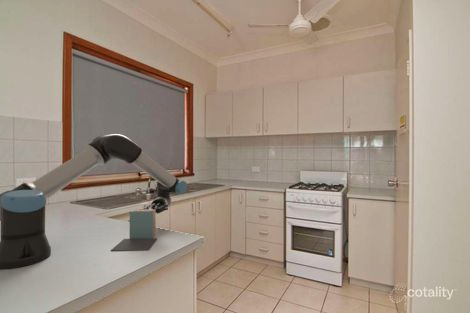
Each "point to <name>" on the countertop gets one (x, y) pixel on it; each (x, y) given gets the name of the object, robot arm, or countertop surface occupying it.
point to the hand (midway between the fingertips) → (146, 214)
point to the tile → (142, 223)
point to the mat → (134, 244)
